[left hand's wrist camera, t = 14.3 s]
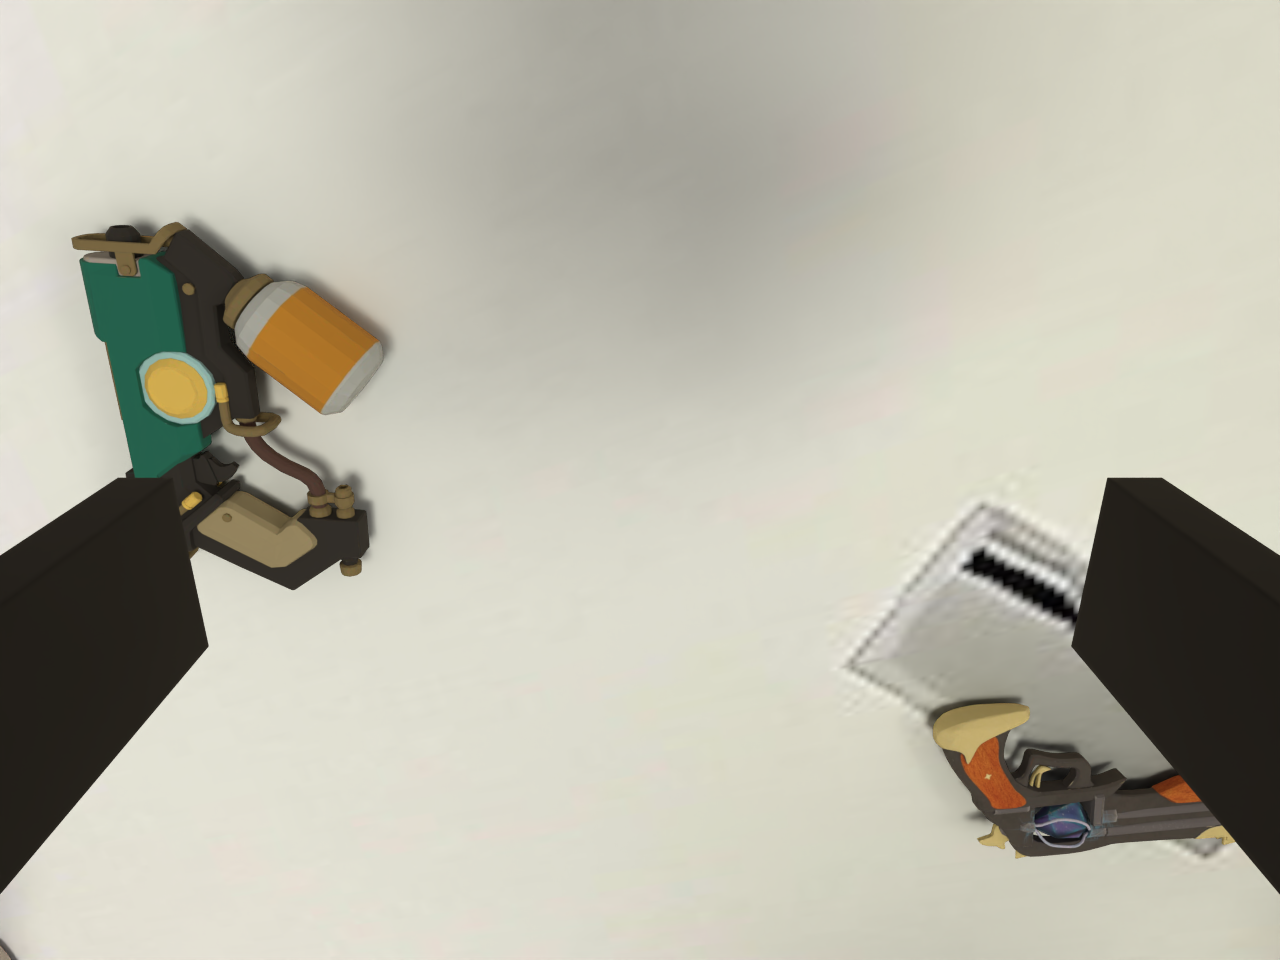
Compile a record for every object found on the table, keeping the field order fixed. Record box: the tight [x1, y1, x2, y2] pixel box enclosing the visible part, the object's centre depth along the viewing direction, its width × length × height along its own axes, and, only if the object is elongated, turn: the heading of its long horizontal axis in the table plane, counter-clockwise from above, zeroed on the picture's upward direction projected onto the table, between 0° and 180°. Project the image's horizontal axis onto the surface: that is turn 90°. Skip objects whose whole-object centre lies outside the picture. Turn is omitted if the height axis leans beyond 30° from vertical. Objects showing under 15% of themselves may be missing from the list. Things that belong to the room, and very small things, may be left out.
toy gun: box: [933, 703, 1235, 858], centre depth 50 cm, size 3×19×10 cm
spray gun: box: [71, 222, 383, 590], centre depth 41 cm, size 4×17×15 cm
